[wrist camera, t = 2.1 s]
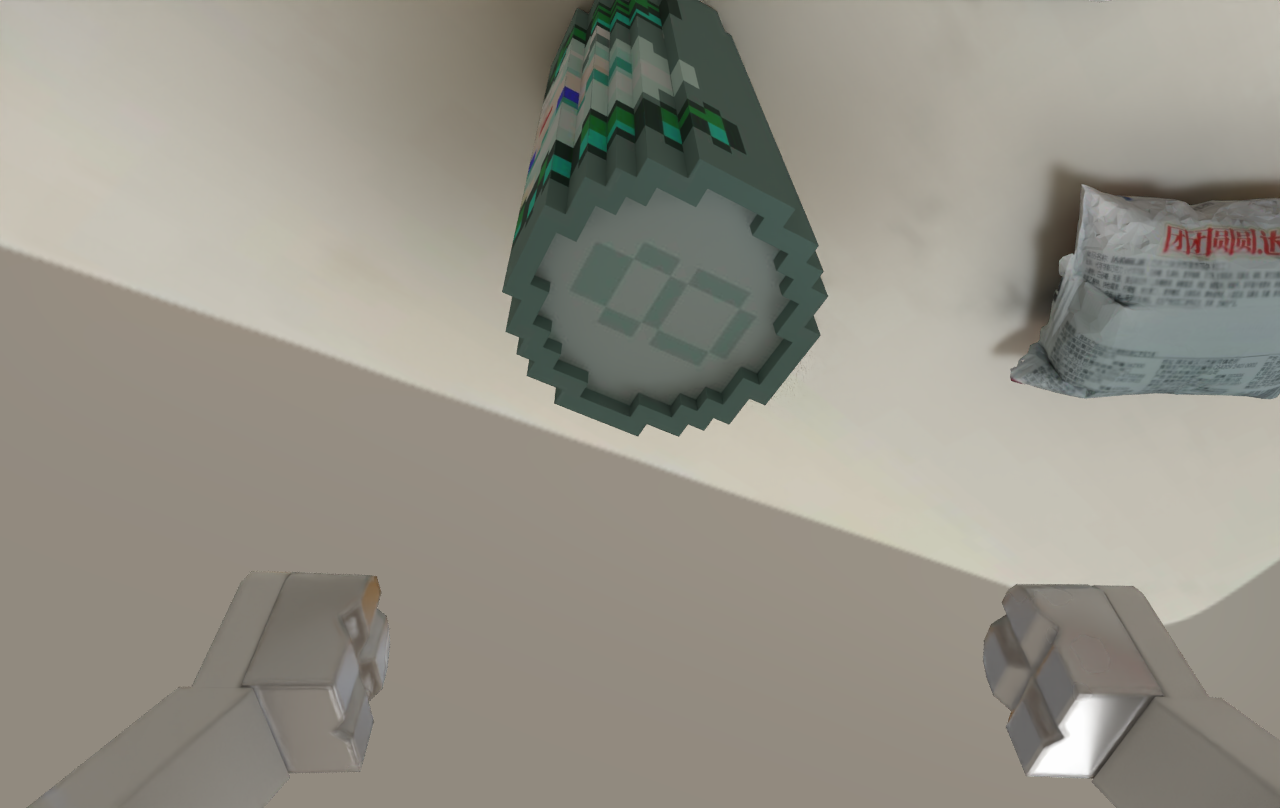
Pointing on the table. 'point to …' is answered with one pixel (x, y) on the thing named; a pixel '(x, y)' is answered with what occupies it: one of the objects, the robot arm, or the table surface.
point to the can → (659, 227)
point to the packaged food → (1164, 301)
